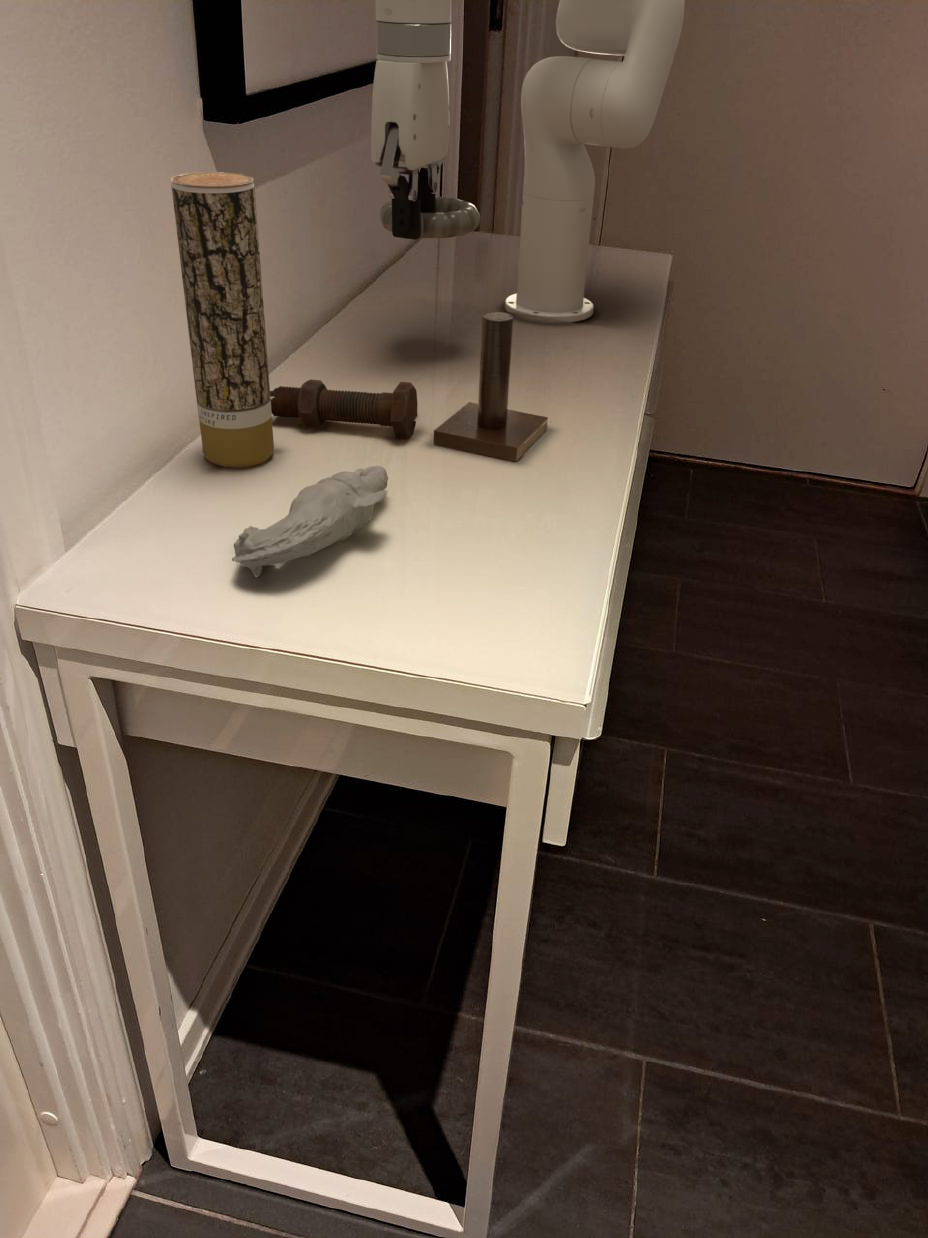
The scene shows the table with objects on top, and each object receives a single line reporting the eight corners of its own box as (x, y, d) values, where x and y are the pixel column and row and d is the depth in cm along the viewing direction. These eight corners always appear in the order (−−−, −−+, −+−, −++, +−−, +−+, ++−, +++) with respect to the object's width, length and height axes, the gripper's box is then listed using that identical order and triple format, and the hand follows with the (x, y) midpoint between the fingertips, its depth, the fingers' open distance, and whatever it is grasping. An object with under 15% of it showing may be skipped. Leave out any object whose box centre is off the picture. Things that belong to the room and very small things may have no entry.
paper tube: (259, 474, 93) (235, 189, 80) (191, 465, 94) (156, 182, 81) (284, 446, 99) (266, 175, 85) (220, 438, 100) (191, 169, 86)
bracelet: (407, 213, 119) (407, 190, 118) (493, 224, 116) (494, 200, 114) (363, 232, 111) (362, 207, 109) (454, 245, 107) (455, 219, 106)
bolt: (278, 432, 106) (414, 443, 104) (260, 425, 101) (403, 436, 99) (282, 377, 106) (420, 387, 103) (265, 367, 101) (409, 377, 98)
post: (468, 414, 108) (473, 298, 101) (546, 430, 105) (557, 311, 98) (433, 444, 101) (435, 321, 94) (516, 461, 98) (524, 336, 91)
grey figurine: (287, 465, 92) (200, 537, 75) (402, 435, 89) (340, 503, 72) (306, 516, 94) (225, 598, 76) (419, 489, 91) (363, 568, 73)
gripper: (415, 36, 107) (415, 215, 117) (340, 46, 95) (348, 246, 105) (479, 40, 105) (474, 223, 115) (411, 50, 92) (411, 255, 103)
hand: (414, 232), depth 110 cm, fingers closed on bracelet, 3 cm apart
